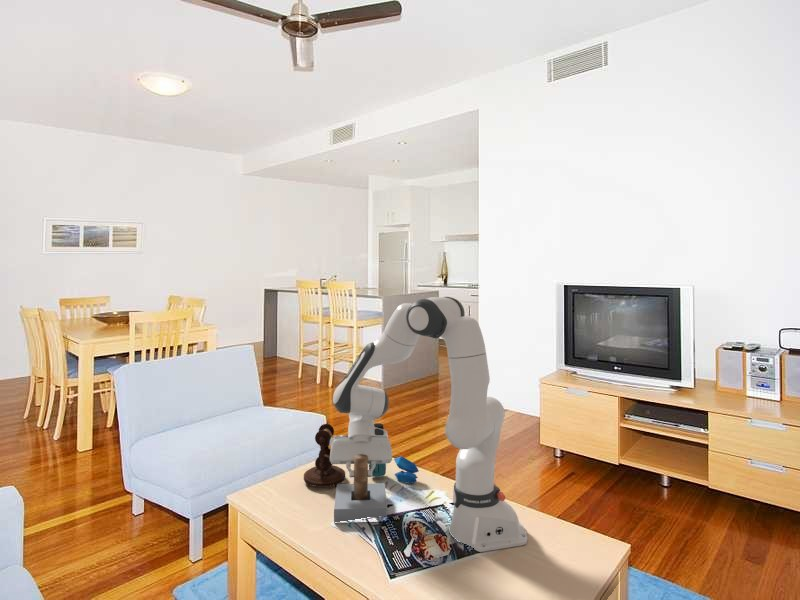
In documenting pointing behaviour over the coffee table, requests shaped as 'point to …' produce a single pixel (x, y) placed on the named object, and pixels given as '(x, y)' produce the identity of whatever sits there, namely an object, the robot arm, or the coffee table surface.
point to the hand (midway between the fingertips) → (360, 476)
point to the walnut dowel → (361, 477)
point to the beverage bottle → (380, 468)
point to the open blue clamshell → (407, 466)
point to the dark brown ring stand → (324, 462)
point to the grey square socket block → (359, 503)
